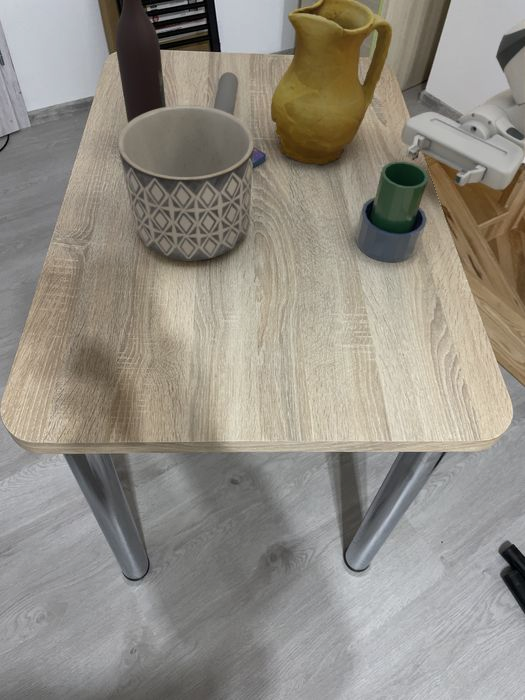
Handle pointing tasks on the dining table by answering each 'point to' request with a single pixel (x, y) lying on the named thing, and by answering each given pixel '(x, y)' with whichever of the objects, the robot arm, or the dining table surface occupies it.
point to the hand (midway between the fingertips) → (433, 167)
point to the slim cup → (398, 197)
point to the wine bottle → (139, 61)
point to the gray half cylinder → (226, 93)
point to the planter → (188, 180)
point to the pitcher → (327, 79)
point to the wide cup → (388, 237)
